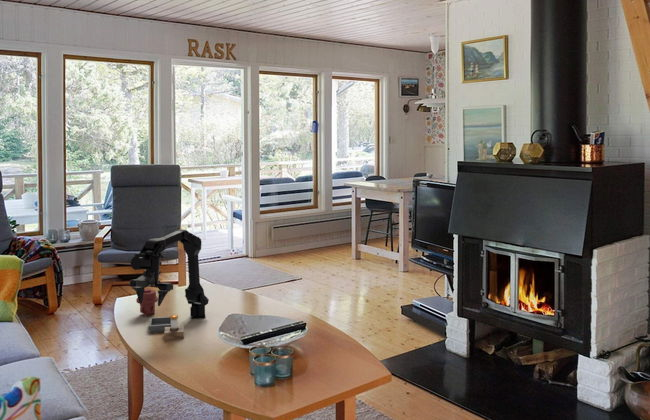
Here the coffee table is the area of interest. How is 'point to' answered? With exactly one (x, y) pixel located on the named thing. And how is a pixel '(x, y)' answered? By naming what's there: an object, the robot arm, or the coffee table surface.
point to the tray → (159, 324)
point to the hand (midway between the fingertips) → (149, 304)
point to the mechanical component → (148, 302)
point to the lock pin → (174, 322)
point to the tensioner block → (174, 333)
